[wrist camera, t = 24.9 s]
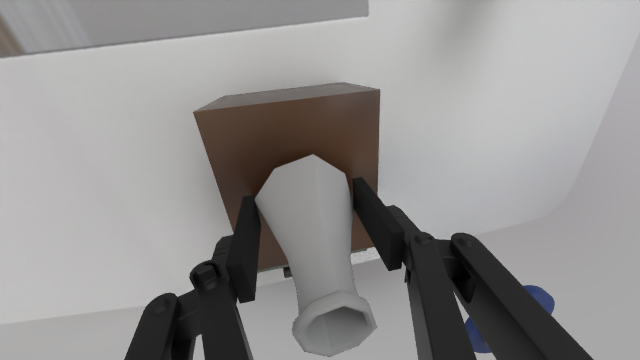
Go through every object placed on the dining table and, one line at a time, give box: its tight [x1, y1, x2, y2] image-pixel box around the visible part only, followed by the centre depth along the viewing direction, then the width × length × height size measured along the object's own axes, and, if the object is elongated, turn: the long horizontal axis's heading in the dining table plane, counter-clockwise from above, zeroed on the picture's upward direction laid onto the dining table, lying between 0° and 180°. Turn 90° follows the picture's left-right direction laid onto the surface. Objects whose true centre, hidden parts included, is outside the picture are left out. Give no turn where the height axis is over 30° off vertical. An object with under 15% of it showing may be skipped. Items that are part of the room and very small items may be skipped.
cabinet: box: [193, 82, 380, 271], centre depth 23 cm, size 15×13×10 cm
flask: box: [255, 154, 377, 357], centre depth 13 cm, size 7×7×10 cm
